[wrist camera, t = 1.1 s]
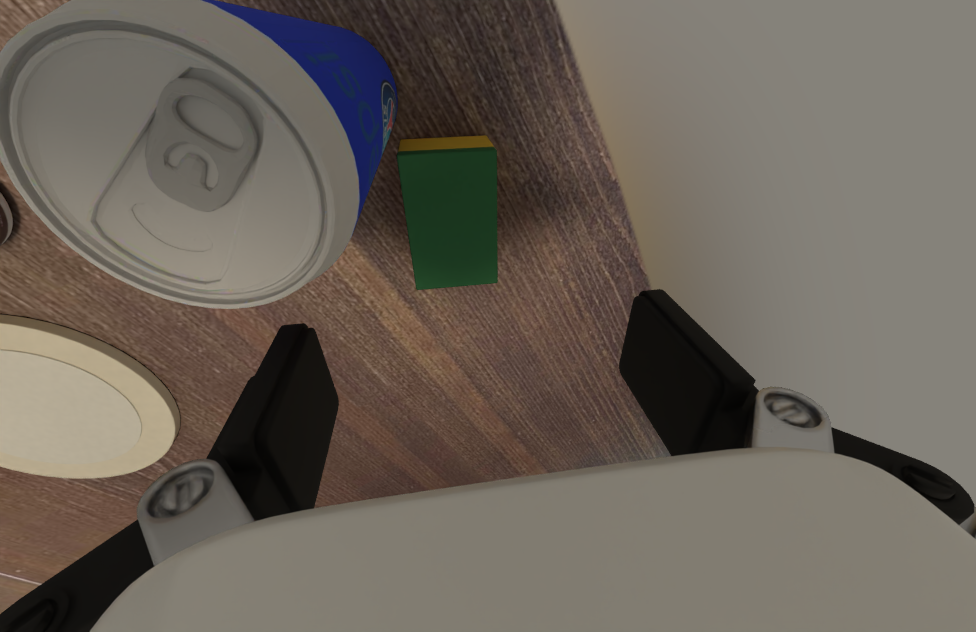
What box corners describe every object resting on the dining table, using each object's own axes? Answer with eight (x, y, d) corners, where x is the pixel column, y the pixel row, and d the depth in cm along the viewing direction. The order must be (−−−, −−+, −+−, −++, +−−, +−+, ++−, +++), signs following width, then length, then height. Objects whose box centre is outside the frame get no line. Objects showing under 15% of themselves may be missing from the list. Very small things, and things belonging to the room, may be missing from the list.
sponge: (400, 139, 20) (396, 155, 17) (486, 135, 20) (497, 150, 17) (417, 261, 24) (416, 290, 21) (488, 255, 24) (497, 283, 21)
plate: (-193, 326, 21) (-215, 336, 20) (105, 301, 23) (95, 310, 22) (10, 481, 30) (-1, 492, 29) (215, 455, 31) (210, 465, 30)
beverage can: (364, 172, 20) (276, 360, 8) (264, 103, 18) (-64, 222, 6) (419, 85, 18) (410, 161, 6) (315, -6, 16) (-14, -160, 4)
